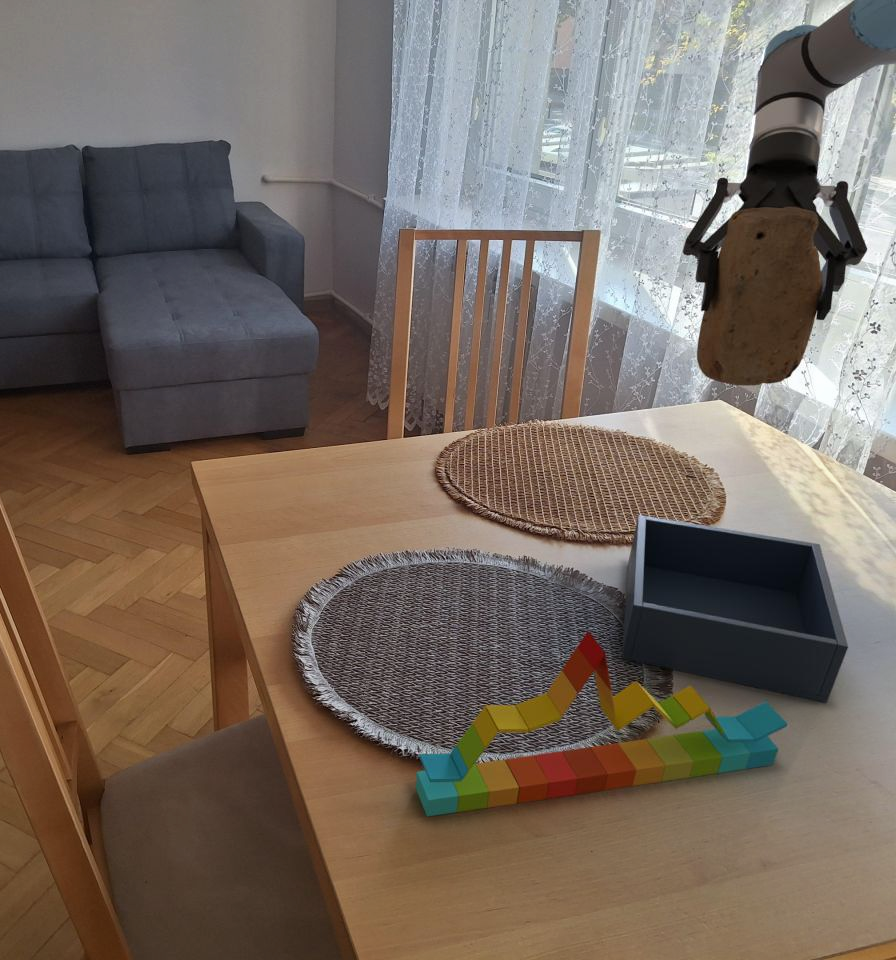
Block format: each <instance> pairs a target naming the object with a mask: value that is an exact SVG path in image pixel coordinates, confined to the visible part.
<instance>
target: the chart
mask: <svg viewBox="0 0 896 960" xmlns="http://www.w3.org/2000/svg"><path fill="white" fill-rule="evenodd" d="M608 666H609V665H608V659H607V654H606V652H605V650H604V649H603V648H602V646H601V645H600V644H599V642H598V641H597V640H596V639H595V637H594V636H593V635H592V633H591V632H590V631H587V632H586V633H585V634H584V636H583V638H582V639H581V640H580V642H579V643H578V645H577V646H576V648H575V650H573V652H572V654H571V655H570V657H569V658H568V660H567V661H566V662H565V664H564V666H563V668H561V670H560V672H559V673H558V675H557V677H556V678H555V679H554V680H553V682H552V684H551V686H550V687H549V688H548V690H547V691H546V693H543V694H539V695H537V696H535V697H532V698H530V699H527V700H525V701H523V702H519V703H518V704H486V705H485V706H484V707H483V708H482V709H481V711H480V712H479V714H478V715H477V716H476V718H475V719H474V720H473V722H472V723H471V724H470V726H469V727H468V728H467V730H466V731H465V732H464V733H463V735H462V737H461V738H460V739H459V741H458V742H457V743H456V745H455V746H454V747H453V749H452V750H451V751H450V753H419V759H420V762H421V764H422V766H423V769H424V770H419V771H416V779H415V790H416V792H417V796H418V797H419V800H420V803H421V805H422V808H423V811H424V813H425V815H426V817H434V816H440V815H446V814H453V813H461V812H462V813H463V812H467V811H474V810H480V809H481V810H482V809H490V808H496V807H503V806H510V805H515V804H523V803H529V802H537V801H542V800H549V799H555V798H556V799H557V798H561V797H569V796H574V795H582V794H589V793H595V792H602V791H609V790H615V789H621V788H628V787H634V786H642V785H649V784H655V783H661V782H669V781H674V780H681V779H689V778H694V777H700V776H707V775H715V774H721V773H729V772H734V771H735V772H736V771H742V770H748V769H755V768H760V767H768V766H773V765H774V764H775V763H774V762H775V761H776V757H777V755H778V752H779V747H778V746H777V745H776V744H775V743H774V742H773V741H772V739H771V738H769V736H771V735H773V734H774V733H777V732H778V731H781V730H782V729H785V728H786V727H788V722H787V721H786V720H785V718H783V717H782V716H781V715H780V714H779V713H778V712H777V711H776V710H775V709H774V708H773V706H772V705H771V704H770V703H769V702H768V701H763V702H762V703H760V704H758V705H756V706H753V707H751V708H750V709H748V710H745V711H744V712H742V713H740V714H738V715H736V716H716V715H715V713H714V711H713V710H712V708H711V706H709V704H708V703H707V702H706V701H705V699H704V698H702V696H701V695H700V694H699V693H698V691H697V690H696V689H695V688H694V687H693V686H692V685H689V686H686V687H685V688H683V689H681V690H679V691H678V692H676V693H674V694H672V695H671V696H669V697H667V698H665V699H663V700H661V701H659V702H658V701H657V699H655V698H654V697H653V696H652V695H651V694H650V693H649V692H648V691H647V689H645V688H644V687H643V686H642V685H641V684H640V683H639V682H638V681H636V680H635V681H634V682H632V683H631V684H629V685H628V686H626V687H625V688H623V690H621V691H620V692H618V693H617V694H615V695H614V696H613V690H612V684H611V683H612V682H611V677H610V671H609V667H608ZM593 673H594V678H595V682H596V689H597V695H598V699H599V700H598V701H599V705H600V709H601V710H602V712H603V713H604V715H605V716H606V717H607V719H608V721H609V722H610V723H611V725H612V726H613V727H614V729H615V730H616V732H619V731H621V730H622V729H624V728H625V727H627V726H628V725H629V724H631V723H633V721H635V720H637V719H638V718H640V717H641V716H642V715H644V714H645V713H648V711H650V710H651V709H652V708H653V709H654V710H656V712H657V713H659V714H660V715H661V716H662V717H663V719H665V720H666V721H667V722H668V723H669V724H670V725H671V726H672V727H673V728H674V729H675V730H677V729H679V728H680V727H683V726H684V725H686V724H688V723H690V722H692V721H693V720H696V719H697V718H699V717H701V716H703V715H705V718H706V719H707V720H708V721H709V723H710V724H711V725H712V726H713V728H714V729H713V728H712V729H707V730H700V731H692V732H686V733H677V734H671V735H664V736H659V737H657V736H656V737H651V738H644V739H638V740H631V741H630V740H629V741H624V742H623V741H622V742H617V743H610V744H603V745H595V746H587V747H583V748H575V749H567V750H561V751H553V752H547V753H540V754H532V755H526V756H521V757H520V756H518V757H513V758H506V759H499V760H492V761H484V762H478V763H477V761H478V760H479V759H480V758H481V756H482V755H483V753H485V751H486V749H487V748H488V747H489V746H490V745H491V743H492V742H493V740H494V739H495V738H496V736H497V735H498V733H499V734H501V733H504V734H505V733H507V734H509V733H513V734H514V733H517V734H519V733H520V734H521V733H527V734H528V733H531V732H533V731H536V730H538V729H542V728H544V727H547V726H549V725H551V724H554V723H558V722H560V721H561V720H562V718H563V717H564V716H565V714H566V713H567V712H568V710H569V708H570V707H571V706H572V704H573V702H574V701H575V700H576V698H577V696H578V695H579V693H580V692H581V691H582V690H583V688H584V687H585V685H586V683H587V682H588V680H589V679H590V678H591V676H592V675H593Z"/></svg>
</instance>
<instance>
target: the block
mask: <svg viewBox="0 0 896 960" xmlns="http://www.w3.org/2000/svg"><path fill="white" fill-rule="evenodd" d="M738 210H739V209H738ZM738 210H736V211H734V212H733V213H732V214H731V215H730V217H729V218H730V219H729V218H728V219H729V222H728V229H727V236H726V238H725V239H724V241H723V243H722V246H721V248H720V249H719V253H718V260H717V267H716V274H715V281H714V288H713V295H712V301H711V304H710V306H709V309H708V311H703V313H702V319H701V323H700V329H699V333H698V339H697V349H696V362H697V364H698V367H699V370H700V371H701V373H702V374H703V375H704V376H705V377H706V378H708V379H710V380H713V381H716V382H720V383H724V384H728V385H732V386H744V387H748V386H752V387H753V386H760V385H762V384H766V385H770V384H771V385H772V384H777V383H782V382H783V381H785V380H786V379H789V378H790V377H791V376H792V375H793V373H794V372H795V371H796V370H797V369H798V367H799V366H800V364H801V363H802V360H803V357H804V355H805V352H806V350H807V347H808V343H809V341H810V337H811V334H812V331H813V327H814V324H815V320H816V317H817V309H818V305H819V301H820V297H821V292H822V287H823V274H822V272H821V271H822V268H821V262H820V252H819V251H818V250H817V248H816V247H815V245H814V242H813V235H814V232H815V231H816V229H817V227H818V217H817V215H816V213H815V212H813V211H810V210H806V209H801V208H798V207H784V208H771V207H762V208H752V209H743V210H739V211H738Z"/></svg>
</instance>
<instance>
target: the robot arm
mask: <svg viewBox="0 0 896 960" xmlns="http://www.w3.org/2000/svg"><path fill="white" fill-rule="evenodd" d="M761 56H762V57H761V61H760V65H759V69H758V70H757V75H756V80H757V81H756V83H757V85H756V91H755V92H756V93H755V101H754V109H753V117H752V124H751V125H752V126H751V133H750V138H749V144H748V145H749V146H748V150H749V151H748V152H747V157H746V158H747V159H746V168H745V173H744V179H743V180H742V181H741V182H729V179H728V178H727V177H719V178H718V179H717V181H716V184H715V188H714V190H713V194H712V197H711V199H710V201H709V203H708V204H707V206H706V207H705V209H704V210H703V211H702V213H701V215H700V216H699V218H698V220H697V221H696V223H695V224H694V226H693V227H692V229H691V231H690V232H689V234H688V235H687V237H686V238H685V241H684V244H683V249H682V253H683V255H684V256H687V257H688V256H693V257H696V259H697V260H696V261H697V263H696V270H695V278H694V279H695V282H696V283H699V284H700V283H704V285H703V293H702V299H701V306H700V312H704V311H708V309H709V306H710V304H711V301H712V295H713V288H714V281H715V274H716V267H717V260H718V256H719V253H720V250H721V246H722V243H723V241H724V239H725V238H726V236H727V229H728V222H729V219H730V217H729V218H728V219H727V220H726V221H725V222H724V223H723V224H722V225H721V226H720V227H718V228H717V229H716V230H715V231H714V232H713V233H712V234H711V235H710V236H709V237H708V238H707V239H706V240H705V241H702V240H703V238H704V236H705V235H706V234H707V232H708V230H709V229H710V227H711V226H712V224H713V223H714V221H715V219H716V218H717V216H718V214H719V213H720V211H721V210H722V207H723V204H726V203H728V202H730V201H731V200H732V198H733V197H734V196H737V195H738V198H739V199H740V200H741V201H742V202H743V204H741V206H740V207H739V209H737V211H739V210H743V209H752V208H762V207H771V208H784V207H798V208H801V209H806V210H810V211H813V212H815V213H816V215H817V217H818V227H817V229H816V231H815V232H814V235H813V242H814V245H815V247H816V249H817V250H818V253H819V255H821V256H822V258H823V259H824V260H825V263H824V265H823V266H822V267H821V272H822V274H823V287H822V292H821V297H820V301H819V305H818V309H817V313H816V316H815V320H816V321H825V319H826V318H827V316H828V314H829V313H830V311H831V310H832V304H833V303H832V302H833V294H834V293H838V292H839V291H840V289H842V287H843V285H844V283H845V279H846V278H845V277H846V270H847V266H848V265H849V266H850V265H851V266H857V265H859V264H860V263H861V261H862V260H863V258H864V256H865V255H866V253H867V252H868V247H867V245H866V241H865V239H864V236H863V234H862V231H861V228H860V227H859V224H858V222H857V219H856V216H855V213H854V211H853V209H852V207H851V204H850V201H849V199H848V194H849V183H848V182H847V181H846V180H840V181H838V182H837V183H836V185H821V183H820V182H819V179H818V171H819V161H820V152H821V144H822V135H823V126H824V117H825V110H826V101H827V98H828V96H829V95H831V94H832V93H834V92H836V91H837V90H839V89H840V88H842V87H844V86H845V85H847V84H849V83H850V82H852V81H853V80H855V79H856V78H858V77H860V76H861V75H863V74H864V73H866V72H868V71H869V70H871V69H873V68H875V67H877V66H888V65H896V0H852V1H851V2H849V3H848V4H846V6H845V7H842V8H841V9H840V10H839V11H837V12H836V13H835V14H833V15H832V16H830V18H828V19H827V20H825V21H824V22H823V23H821V24H820V25H818V26H817V25H812V24H801V25H797V26H796V25H795V26H794V27H793V28H791V29H789V30H788V29H784V30H782V31H780V32H779V33H777V34H776V35H774V36H773V37H772V38H771V40H769V42H768V43H767V45H766V46H765V47H764V50H763V53H762V55H761ZM817 198H819V199H821V200H822V202H823V204H824V206H825V207H827V208H828V212H829V216H830V219H831V222H832V224H833V226H834V229H835V232H836V234H837V235H836V234H835V233H834V231H833V230H832V229H831V227H830V226H829V225H828V224H827V222H826V221H825V220H824V218H823V217H822V216H821V215H820V213H819V212H818V210H817V205H816V204H815V203H814V201H815V200H816V199H817Z"/></svg>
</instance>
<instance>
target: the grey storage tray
mask: <svg viewBox="0 0 896 960" xmlns="http://www.w3.org/2000/svg"><path fill="white" fill-rule="evenodd" d="M632 538H633V539H632V543H631V548H630V551H629V552H630V553H629V557H628V561H627V571H626V572H627V574H626V587H625V588H626V589H625V600H624V601H625V603H624V618H623V633H622V647H621V659H622V660H628V661H631V662H636V663H642V664H646V665H650V666H655V667H659V668H665V669H669V670H673V671H678V672H683V673H687V674H692V675H697V676H701V677H706V678H710V679H715V680H719V681H725V682H728V683H729V682H730V683H733V684H739V685H741V686H742V685H743V686H747V687H751V688H757V689H761V690H766V691H770V692H775V693H780V694H784V695H789V696H793V697H798V698H801V699H802V698H803V699H807V700H812V701H815V702H816V701H818V702H820V703H821V702H822V703H828V700H829V698H830V695H831V693H832V691H833V688H834V685H835V682H836V681H837V678H838V674H839V673H840V669H841V667H842V664H843V662H844V659H845V656H846V653H847V652H848V649H849V645H848V641H847V637H846V634H845V631H844V627H843V623H842V620H841V615H840V612H839V608H838V605H837V602H836V598H835V594H834V590H833V587H832V584H831V580H830V577H829V573H828V570H827V565H826V562H825V558H824V554H823V551H822V547H821V544H820V543H815V542H811V541H802V540H798V539H797V540H796V539H790V538H784V537H778V536H771V535H765V534H759V533H753V532H748V531H747V532H746V531H742V530H741V531H740V530H734V529H728V528H722V527H716V526H709V525H703V524H696V523H691V522H685V521H678V520H672V519H667V518H659V517H653V516H646V515H641V514H638V515H637V520H636V524H635V529H634V533H633V537H632Z"/></svg>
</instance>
